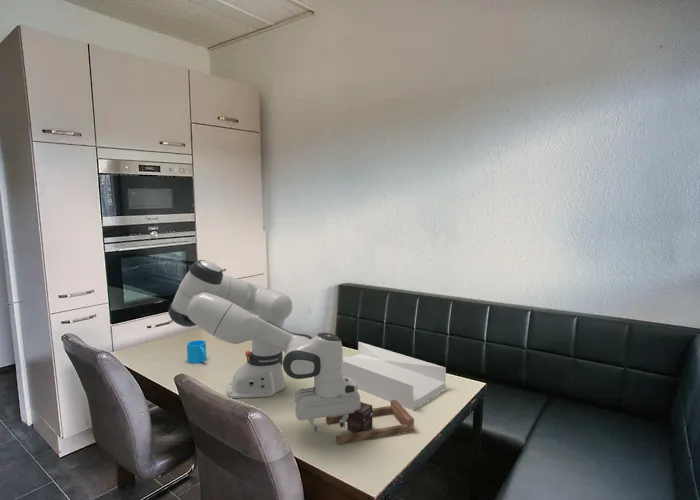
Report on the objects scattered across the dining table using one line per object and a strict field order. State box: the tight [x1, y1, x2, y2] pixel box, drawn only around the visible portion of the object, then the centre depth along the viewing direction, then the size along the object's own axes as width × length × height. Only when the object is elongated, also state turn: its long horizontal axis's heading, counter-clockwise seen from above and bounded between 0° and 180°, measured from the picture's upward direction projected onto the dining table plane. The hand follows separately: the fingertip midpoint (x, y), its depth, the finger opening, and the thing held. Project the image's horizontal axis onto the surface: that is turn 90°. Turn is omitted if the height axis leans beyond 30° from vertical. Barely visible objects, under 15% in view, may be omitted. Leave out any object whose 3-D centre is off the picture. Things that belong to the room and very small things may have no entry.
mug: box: [186, 339, 207, 365], centre depth 187 cm, size 12×8×8 cm
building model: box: [342, 341, 447, 411], centre depth 165 cm, size 45×22×10 cm, turn 47°
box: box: [346, 401, 374, 433], centre depth 130 cm, size 6×6×7 cm
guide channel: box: [325, 400, 415, 446], centre depth 132 cm, size 25×14×4 cm, turn 107°
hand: (328, 428), depth 127 cm, fingers open, 7 cm apart
